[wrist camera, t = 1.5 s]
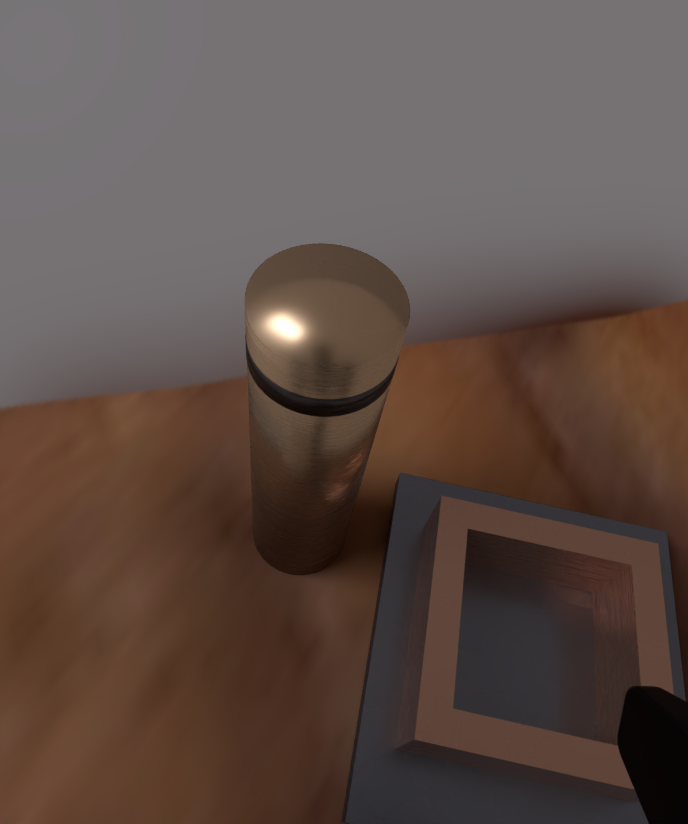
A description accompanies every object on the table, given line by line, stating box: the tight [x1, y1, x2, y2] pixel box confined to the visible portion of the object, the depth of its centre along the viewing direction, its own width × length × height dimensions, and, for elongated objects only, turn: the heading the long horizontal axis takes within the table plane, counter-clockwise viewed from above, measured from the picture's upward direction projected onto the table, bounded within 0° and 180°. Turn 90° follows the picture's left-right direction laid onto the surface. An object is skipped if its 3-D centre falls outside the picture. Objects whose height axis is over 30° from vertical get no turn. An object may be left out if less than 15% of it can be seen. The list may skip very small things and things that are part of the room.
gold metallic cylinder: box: [245, 244, 410, 575], centre depth 19 cm, size 4×4×13 cm
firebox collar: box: [342, 473, 686, 824], centre depth 21 cm, size 12×11×4 cm
